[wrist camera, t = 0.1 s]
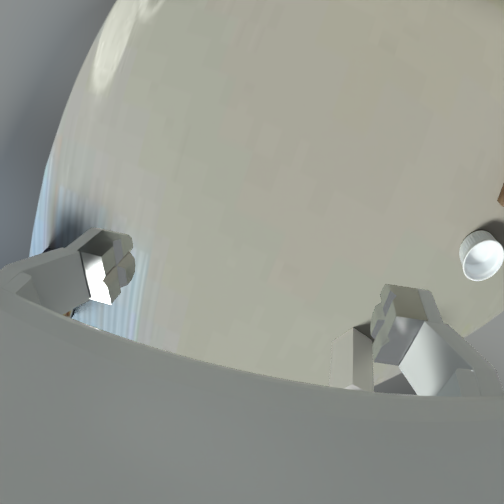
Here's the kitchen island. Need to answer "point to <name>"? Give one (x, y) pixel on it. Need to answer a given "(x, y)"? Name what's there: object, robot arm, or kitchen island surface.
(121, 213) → the kitchen island surface
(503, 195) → the stand base
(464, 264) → the ramekin
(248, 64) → the kitchen island surface
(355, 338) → the soap dispenser
